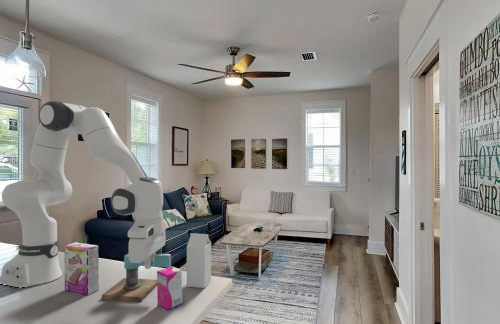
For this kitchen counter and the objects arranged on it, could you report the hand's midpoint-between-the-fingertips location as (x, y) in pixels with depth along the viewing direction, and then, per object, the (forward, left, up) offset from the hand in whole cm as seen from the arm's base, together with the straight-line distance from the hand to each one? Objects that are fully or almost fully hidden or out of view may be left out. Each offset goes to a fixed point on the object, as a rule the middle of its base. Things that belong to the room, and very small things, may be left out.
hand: (149, 267), depth 99 cm
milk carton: (+13, +15, -11) cm, 23 cm away
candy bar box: (-27, +4, -11) cm, 29 cm away
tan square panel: (-9, +6, -11) cm, 15 cm away
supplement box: (+8, -2, -11) cm, 14 cm away
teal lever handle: (-3, +6, -2) cm, 7 cm away
